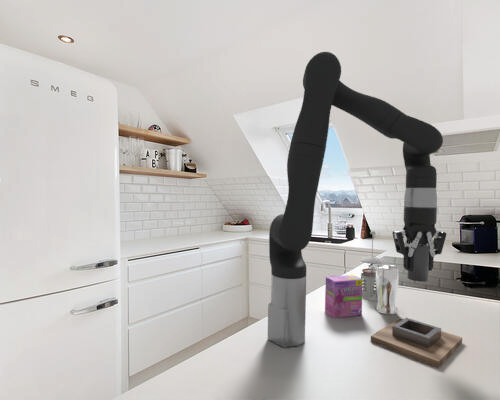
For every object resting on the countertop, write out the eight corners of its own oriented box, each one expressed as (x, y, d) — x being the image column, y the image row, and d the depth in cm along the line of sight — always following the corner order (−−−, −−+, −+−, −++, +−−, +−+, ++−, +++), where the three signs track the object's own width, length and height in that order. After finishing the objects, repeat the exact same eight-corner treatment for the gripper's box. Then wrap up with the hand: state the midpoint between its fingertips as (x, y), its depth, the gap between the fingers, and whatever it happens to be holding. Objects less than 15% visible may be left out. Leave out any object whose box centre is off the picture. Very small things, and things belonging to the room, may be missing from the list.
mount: (438, 368, 68) (439, 350, 68) (370, 341, 80) (371, 326, 80) (462, 343, 80) (462, 328, 80) (399, 323, 92) (400, 309, 92)
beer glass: (378, 305, 106) (379, 263, 106) (399, 310, 102) (401, 266, 102) (371, 311, 101) (373, 266, 101) (394, 317, 97) (395, 270, 96)
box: (333, 318, 95) (334, 281, 95) (324, 311, 100) (325, 276, 100) (362, 315, 98) (363, 279, 97) (352, 309, 103) (352, 274, 103)
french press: (380, 292, 121) (381, 229, 120) (390, 303, 109) (392, 233, 109) (354, 291, 122) (356, 229, 121) (362, 301, 110) (364, 233, 110)
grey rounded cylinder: (424, 282, 77) (425, 247, 76) (404, 278, 80) (405, 244, 80) (431, 279, 80) (432, 245, 80) (411, 275, 83) (412, 242, 83)
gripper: (403, 205, 75) (401, 274, 75) (456, 206, 77) (454, 273, 77) (386, 204, 83) (384, 267, 83) (435, 205, 84) (433, 266, 84)
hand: (418, 269), depth 80 cm, fingers closed on grey rounded cylinder, 4 cm apart
